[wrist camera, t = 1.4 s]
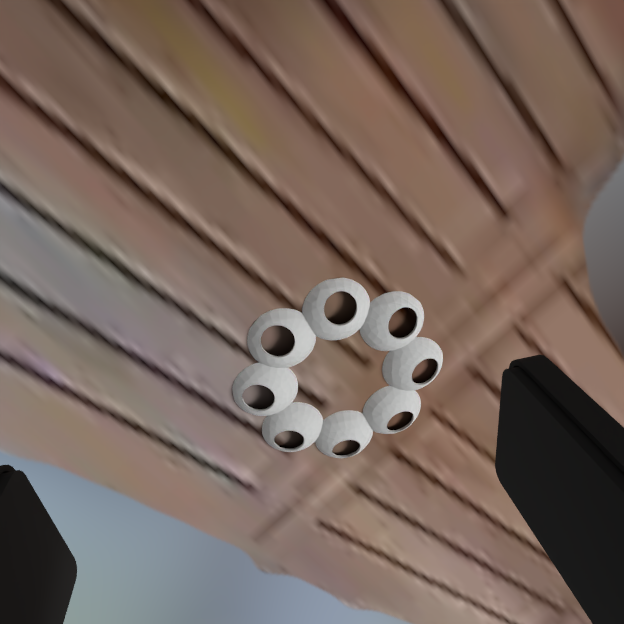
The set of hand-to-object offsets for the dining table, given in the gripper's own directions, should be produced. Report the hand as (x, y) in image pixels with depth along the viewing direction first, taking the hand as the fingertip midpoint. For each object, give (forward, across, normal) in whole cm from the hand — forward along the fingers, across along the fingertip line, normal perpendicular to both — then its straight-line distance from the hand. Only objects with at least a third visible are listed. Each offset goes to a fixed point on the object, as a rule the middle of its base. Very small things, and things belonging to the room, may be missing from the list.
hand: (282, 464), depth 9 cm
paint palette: (+28, -5, +19) cm, 35 cm away
